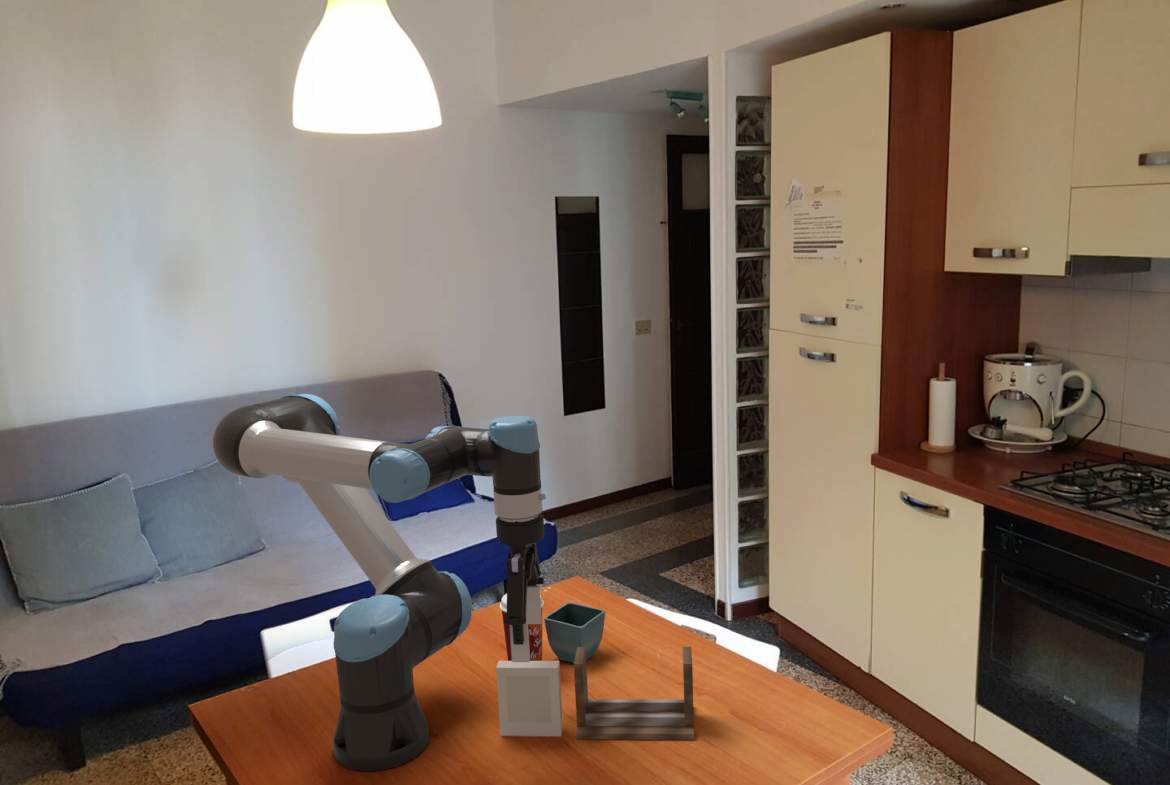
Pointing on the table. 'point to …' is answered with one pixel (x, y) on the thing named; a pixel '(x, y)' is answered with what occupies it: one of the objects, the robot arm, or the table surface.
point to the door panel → (529, 698)
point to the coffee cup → (533, 632)
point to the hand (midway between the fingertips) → (527, 641)
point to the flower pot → (574, 630)
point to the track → (633, 710)
